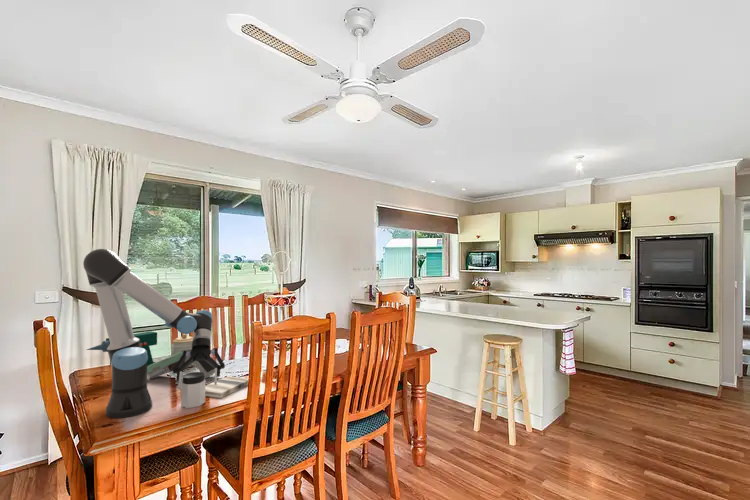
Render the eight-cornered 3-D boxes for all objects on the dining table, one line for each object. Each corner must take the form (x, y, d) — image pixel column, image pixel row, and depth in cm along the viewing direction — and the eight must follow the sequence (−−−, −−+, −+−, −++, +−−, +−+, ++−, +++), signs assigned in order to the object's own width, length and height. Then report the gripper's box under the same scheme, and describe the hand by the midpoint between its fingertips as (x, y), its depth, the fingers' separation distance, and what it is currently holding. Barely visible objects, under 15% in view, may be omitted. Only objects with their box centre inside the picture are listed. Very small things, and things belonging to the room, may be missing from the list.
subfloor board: (220, 398, 159) (220, 393, 159) (195, 394, 163) (195, 389, 163) (250, 383, 178) (250, 379, 178) (227, 380, 182) (227, 376, 182)
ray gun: (215, 374, 183) (200, 336, 183) (155, 399, 183) (141, 361, 183) (221, 370, 190) (207, 333, 190) (164, 393, 190) (150, 357, 191)
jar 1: (172, 363, 212) (173, 332, 212) (197, 361, 216) (198, 330, 217) (168, 369, 200) (169, 336, 200) (195, 367, 204) (195, 335, 204)
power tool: (88, 386, 173) (89, 343, 174) (81, 384, 177) (82, 342, 177) (158, 369, 200) (158, 332, 201) (151, 367, 204) (151, 331, 204)
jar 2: (209, 403, 153) (209, 373, 154) (190, 409, 146) (190, 379, 147) (196, 398, 158) (196, 370, 158) (177, 405, 151) (177, 375, 151)
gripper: (231, 343, 175) (230, 386, 161) (171, 348, 167) (165, 393, 152) (230, 334, 170) (229, 377, 156) (169, 338, 162) (162, 384, 148)
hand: (197, 385), depth 154 cm, fingers open, 13 cm apart
